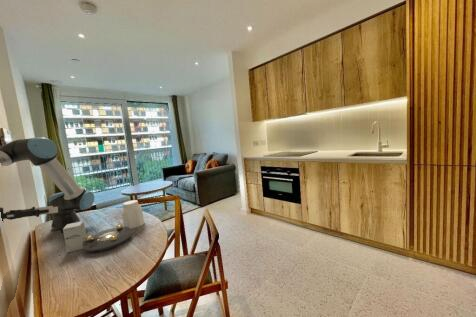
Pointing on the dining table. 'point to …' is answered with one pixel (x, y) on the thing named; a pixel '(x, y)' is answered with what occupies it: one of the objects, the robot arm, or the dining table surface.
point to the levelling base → (107, 239)
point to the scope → (66, 220)
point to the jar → (132, 214)
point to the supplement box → (74, 236)
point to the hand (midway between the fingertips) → (55, 208)
